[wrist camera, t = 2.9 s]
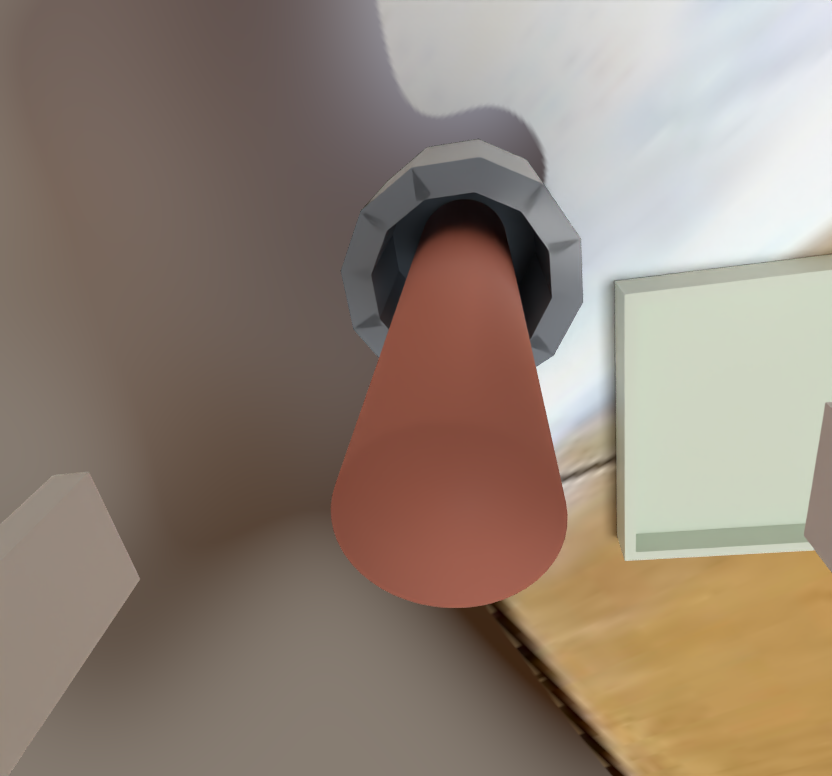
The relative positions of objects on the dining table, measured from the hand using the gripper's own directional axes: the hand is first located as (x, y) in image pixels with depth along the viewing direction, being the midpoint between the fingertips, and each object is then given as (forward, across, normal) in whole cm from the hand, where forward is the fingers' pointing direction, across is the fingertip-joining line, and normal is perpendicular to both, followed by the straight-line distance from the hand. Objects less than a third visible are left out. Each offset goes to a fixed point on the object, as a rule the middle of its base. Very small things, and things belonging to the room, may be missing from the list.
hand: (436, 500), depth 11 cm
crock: (+20, 0, 0) cm, 20 cm away
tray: (+20, +13, -11) cm, 26 cm away
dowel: (+19, 0, 0) cm, 19 cm away
